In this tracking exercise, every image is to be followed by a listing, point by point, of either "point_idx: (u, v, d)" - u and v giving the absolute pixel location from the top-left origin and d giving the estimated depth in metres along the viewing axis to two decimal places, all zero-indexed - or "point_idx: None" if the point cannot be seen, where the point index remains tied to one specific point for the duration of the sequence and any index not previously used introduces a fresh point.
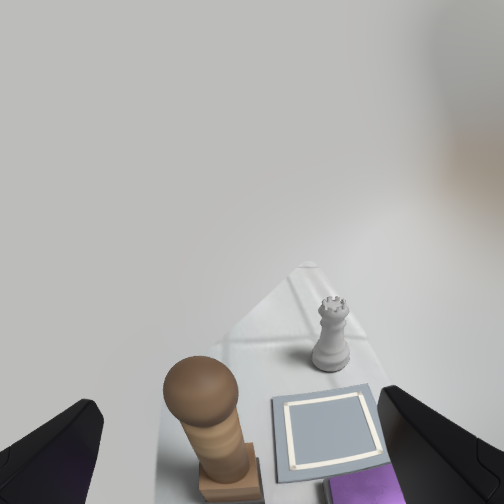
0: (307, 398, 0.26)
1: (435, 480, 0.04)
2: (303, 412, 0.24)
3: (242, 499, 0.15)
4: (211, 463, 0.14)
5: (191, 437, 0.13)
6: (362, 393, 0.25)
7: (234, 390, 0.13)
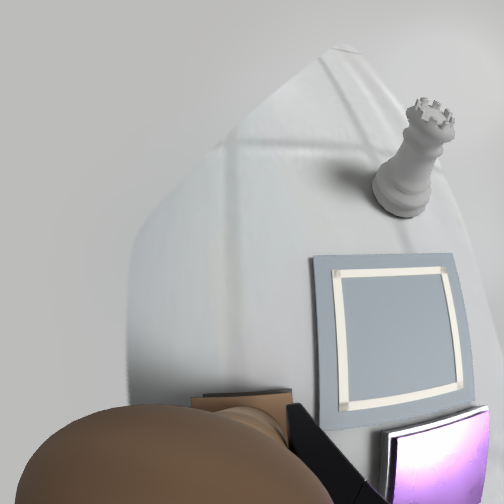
0: (370, 265, 0.17)
1: None
2: (364, 294, 0.16)
3: None
4: None
5: None
6: (446, 270, 0.16)
7: None
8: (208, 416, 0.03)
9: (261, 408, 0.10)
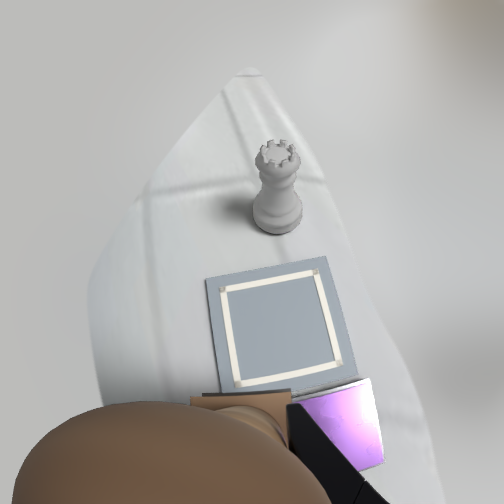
0: (249, 279, 0.23)
1: None
2: (245, 301, 0.23)
3: None
4: None
5: None
6: (319, 272, 0.23)
7: None
8: (204, 413, 0.03)
9: (260, 407, 0.10)
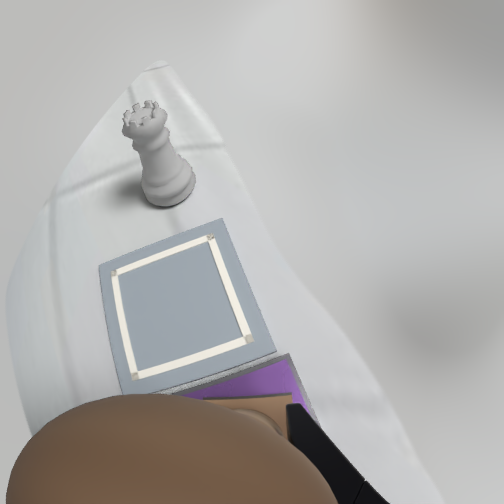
0: (139, 257, 0.20)
1: None
2: (135, 282, 0.19)
3: None
4: None
5: None
6: (214, 236, 0.20)
7: None
8: (206, 404, 0.03)
9: (261, 411, 0.10)
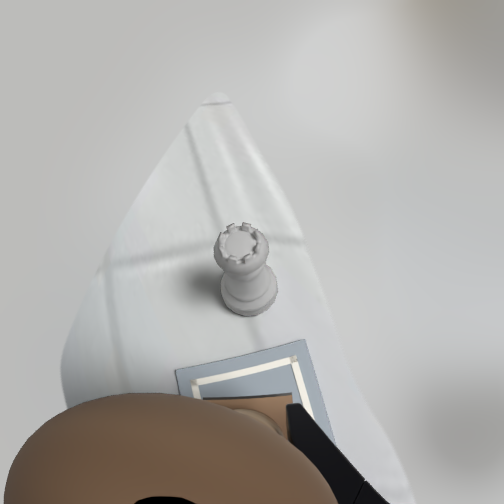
0: (221, 371, 0.20)
1: None
2: (218, 395, 0.19)
3: None
4: None
5: None
6: (297, 359, 0.20)
7: None
8: (205, 403, 0.03)
9: (261, 411, 0.10)
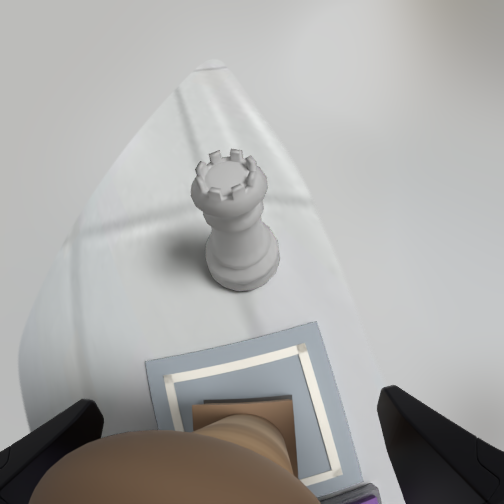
0: (203, 364, 0.15)
1: (435, 480, 0.04)
2: (200, 396, 0.14)
3: None
4: None
5: None
6: (307, 348, 0.15)
7: None
8: (211, 445, 0.02)
9: (262, 416, 0.10)
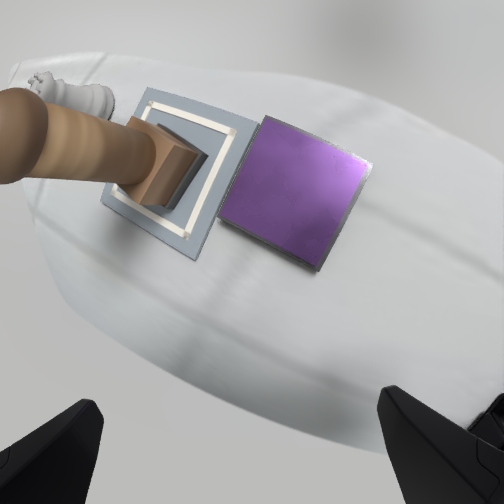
0: None
1: (435, 480, 0.04)
2: None
3: (184, 170, 0.18)
4: (105, 172, 0.12)
5: (55, 175, 0.10)
6: (152, 100, 0.19)
7: (21, 94, 0.06)
8: None
9: None
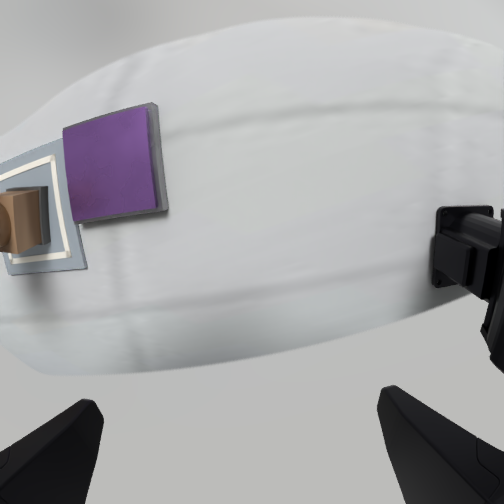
0: None
1: (435, 480, 0.04)
2: None
3: (36, 209, 0.17)
4: None
5: None
6: None
7: None
8: None
9: None
